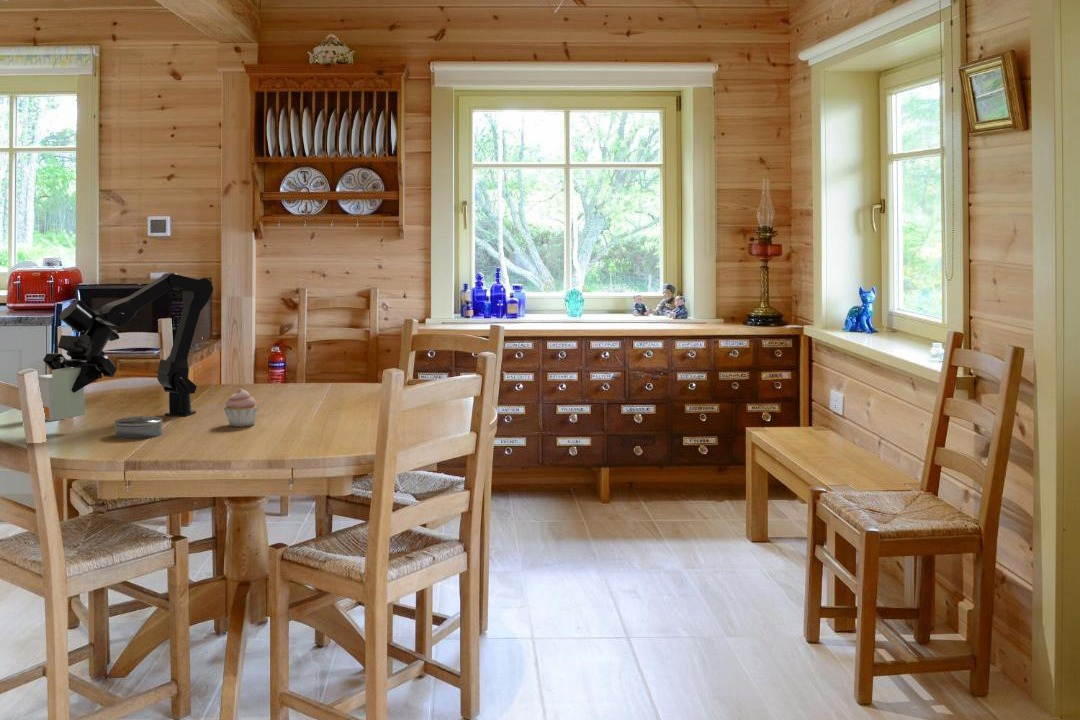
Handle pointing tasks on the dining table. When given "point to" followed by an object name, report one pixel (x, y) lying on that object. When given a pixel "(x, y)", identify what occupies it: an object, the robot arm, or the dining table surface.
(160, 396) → the dining table surface
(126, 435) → the charcoal tin
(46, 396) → the skincare box
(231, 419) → the cupcake
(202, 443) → the dining table surface
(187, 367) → the robot arm
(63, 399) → the sage block
